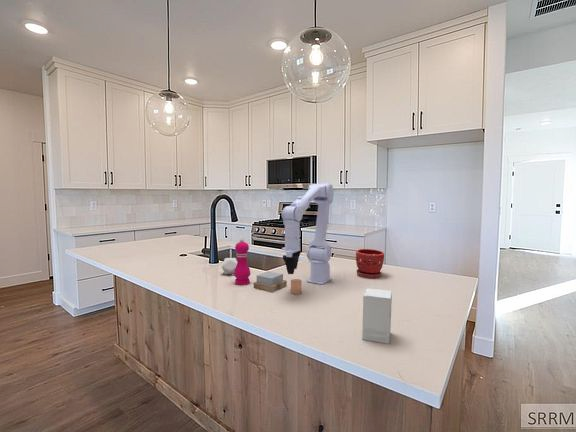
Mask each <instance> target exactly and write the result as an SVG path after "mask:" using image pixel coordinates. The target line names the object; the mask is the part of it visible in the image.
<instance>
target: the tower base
mask: <svg viewBox="0 0 576 432" xmlns="http://www.w3.org/2000/svg"><path fill="white" fill-rule="evenodd" d="M287 283H288V282H287V280H284V279H283V281H282V282H279V283H277V284H275V285H272V286H271V285H266V284H262V283H257V281H254V282H253V289H254V288H255V290H260V291H263V292H264V291H265V292H269V293H275V292H277V291H280V290H282V289H284V288H286V287H287Z"/></svg>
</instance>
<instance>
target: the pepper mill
mask: <svg viewBox="0 0 576 432" xmlns="http://www.w3.org/2000/svg"><path fill="white" fill-rule="evenodd" d="M249 249H250V247H249V244H248V243H247V242H245V240H244V238H240V239H239V242H237V243H236V244H235V246H234V250H235V251H236V253H235V255H236V260H237V265H236V268H235V271H234V277H235V279H234V280H235V285H237V284H238V286H244V285H245V284H246V285H248V283H249V284H250V278H249V277H250V276H251V269H250V267H249V264H248V258H247V257H248V252H249ZM246 285H245V286H246Z"/></svg>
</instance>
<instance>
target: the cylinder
mask: <svg viewBox="0 0 576 432" xmlns="http://www.w3.org/2000/svg"><path fill="white" fill-rule="evenodd" d="M302 280H303V279H300V278H299V279H298V278H295V279H294V278H293V279H291V280H290V294H292V295H295V296H296V295H297V296H298V295H302V291H303V290H302V284H303V283H302V282H303V281H302Z"/></svg>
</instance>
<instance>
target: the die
mask: <svg viewBox="0 0 576 432" xmlns="http://www.w3.org/2000/svg"><path fill="white" fill-rule="evenodd" d="M237 260H238V259H237V257H225V258H224V260H223V261H222V262H223V263H222V265H221V268H222V271H223V273H224V275H225V276H233V275H232V274H234V271H235V268H236V265H237Z"/></svg>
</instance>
